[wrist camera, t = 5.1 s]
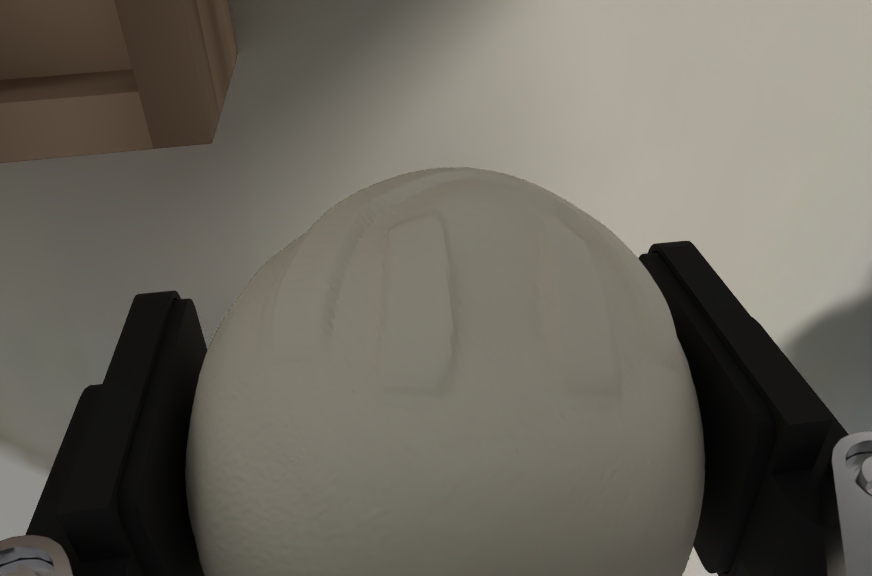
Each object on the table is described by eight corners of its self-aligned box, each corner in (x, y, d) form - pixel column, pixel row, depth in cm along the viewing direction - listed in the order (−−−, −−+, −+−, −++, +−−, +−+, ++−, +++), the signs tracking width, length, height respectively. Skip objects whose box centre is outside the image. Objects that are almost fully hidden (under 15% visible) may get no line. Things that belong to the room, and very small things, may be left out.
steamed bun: (659, 105, 11) (976, 413, 6) (556, 435, 15) (684, 797, 10) (206, 68, 10) (69, 415, 5) (227, 438, 14) (168, 850, 9)
